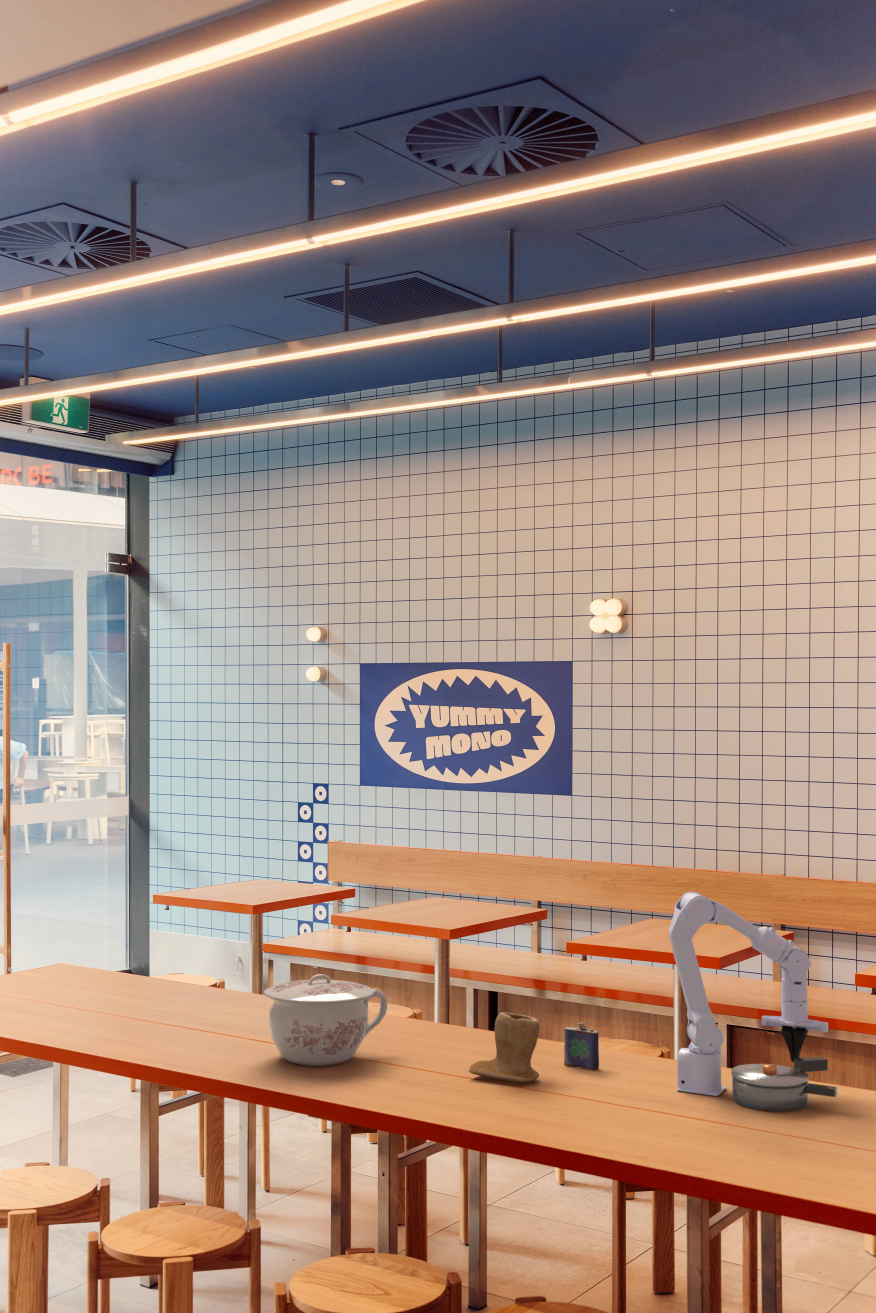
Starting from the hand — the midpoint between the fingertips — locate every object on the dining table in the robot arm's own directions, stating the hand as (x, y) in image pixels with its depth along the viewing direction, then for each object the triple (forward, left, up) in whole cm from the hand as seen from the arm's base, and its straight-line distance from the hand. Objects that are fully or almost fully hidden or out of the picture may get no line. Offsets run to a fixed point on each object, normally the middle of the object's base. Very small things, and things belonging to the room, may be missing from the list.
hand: (795, 1061), depth 277 cm
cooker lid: (-1, -10, -2) cm, 10 cm away
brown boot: (-61, -23, -7) cm, 66 cm away
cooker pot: (0, -12, -7) cm, 14 cm away
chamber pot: (-109, -31, -7) cm, 113 cm away
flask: (-50, -4, -7) cm, 51 cm away
